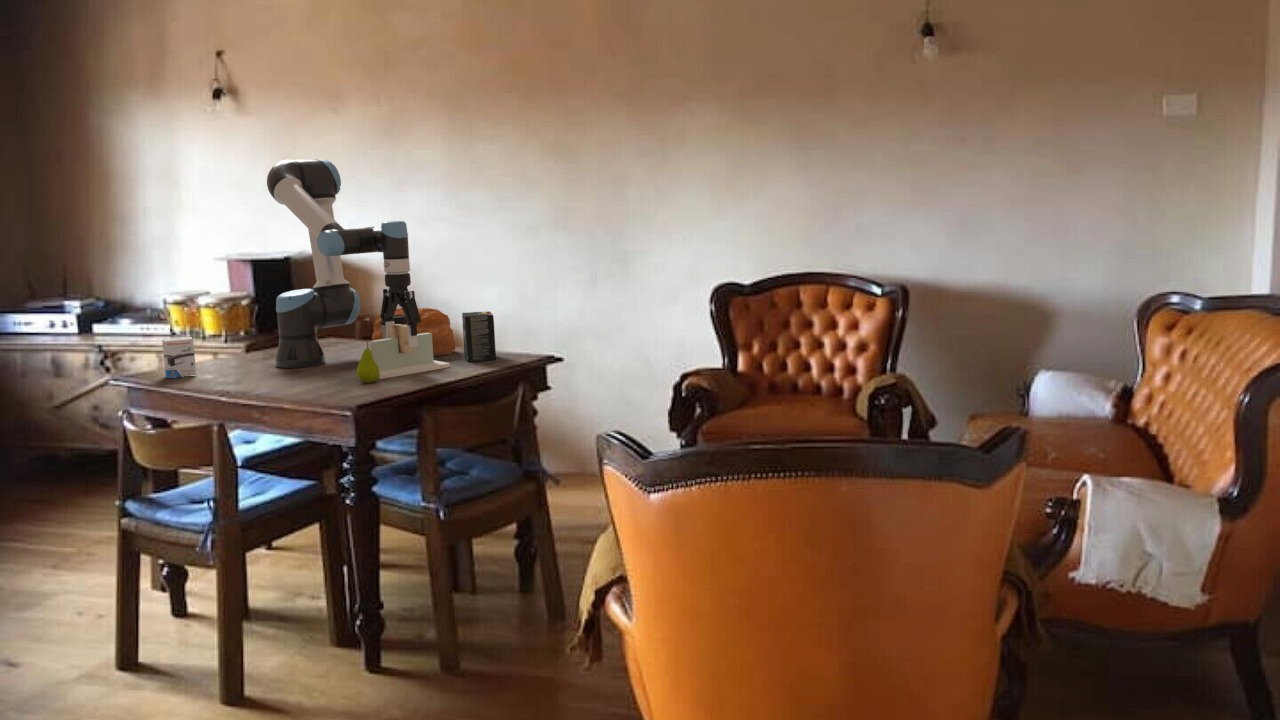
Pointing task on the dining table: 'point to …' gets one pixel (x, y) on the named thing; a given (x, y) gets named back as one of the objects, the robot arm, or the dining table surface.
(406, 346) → the wooden block
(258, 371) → the dining table surface
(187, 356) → the ink box
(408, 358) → the slotted board
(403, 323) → the coffee cup
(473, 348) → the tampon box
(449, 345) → the bread
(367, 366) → the fruit
